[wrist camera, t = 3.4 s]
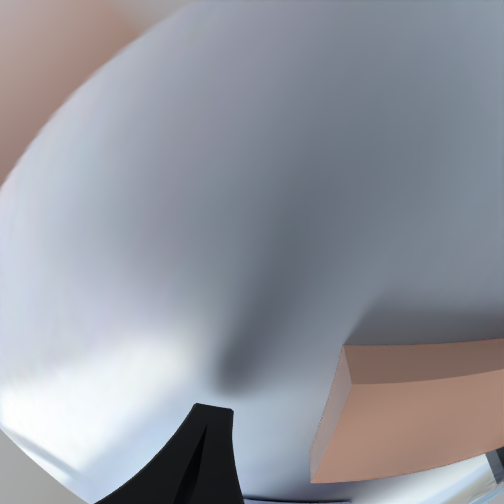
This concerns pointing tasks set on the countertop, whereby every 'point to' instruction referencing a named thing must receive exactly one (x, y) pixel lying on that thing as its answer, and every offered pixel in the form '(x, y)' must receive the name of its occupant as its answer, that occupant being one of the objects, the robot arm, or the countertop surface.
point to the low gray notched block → (497, 463)
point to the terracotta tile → (409, 409)
